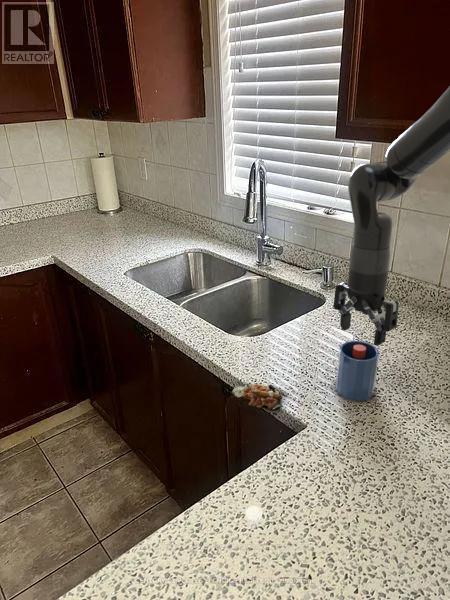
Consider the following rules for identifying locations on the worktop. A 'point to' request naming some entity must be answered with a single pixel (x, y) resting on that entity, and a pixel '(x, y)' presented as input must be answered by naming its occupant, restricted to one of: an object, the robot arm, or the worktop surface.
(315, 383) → the worktop surface
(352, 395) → the vase
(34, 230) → the worktop surface
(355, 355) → the marker
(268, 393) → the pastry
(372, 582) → the worktop surface
